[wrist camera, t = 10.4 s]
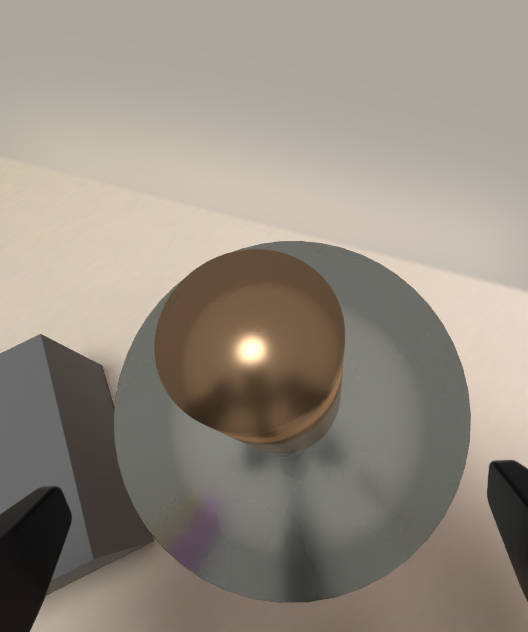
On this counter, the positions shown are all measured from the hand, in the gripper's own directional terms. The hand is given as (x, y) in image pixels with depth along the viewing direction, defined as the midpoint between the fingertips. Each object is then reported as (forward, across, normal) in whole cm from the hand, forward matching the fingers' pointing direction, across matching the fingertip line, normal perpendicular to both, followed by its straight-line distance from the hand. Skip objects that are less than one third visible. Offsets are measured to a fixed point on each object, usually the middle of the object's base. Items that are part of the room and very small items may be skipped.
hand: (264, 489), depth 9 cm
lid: (+6, 0, +2) cm, 6 cm away
